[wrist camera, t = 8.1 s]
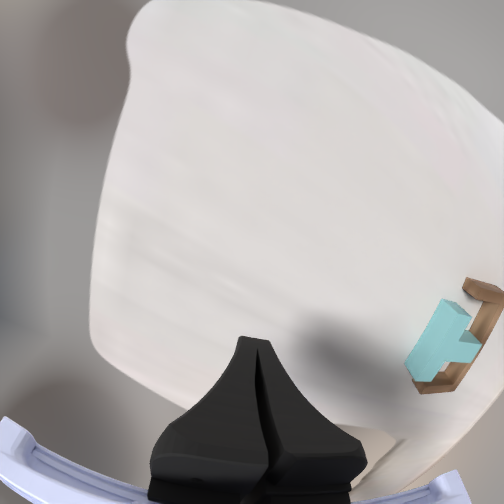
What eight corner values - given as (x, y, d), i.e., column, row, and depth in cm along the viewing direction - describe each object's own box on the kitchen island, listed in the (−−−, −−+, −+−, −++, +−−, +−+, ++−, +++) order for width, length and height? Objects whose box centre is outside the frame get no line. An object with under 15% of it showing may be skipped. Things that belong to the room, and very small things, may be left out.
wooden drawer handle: (445, 378, 26) (453, 391, 24) (411, 380, 26) (420, 394, 24) (496, 285, 22) (509, 295, 20) (466, 277, 22) (481, 287, 19)
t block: (446, 366, 26) (457, 381, 23) (404, 363, 25) (415, 381, 22) (480, 309, 23) (494, 323, 20) (441, 298, 23) (457, 313, 20)
